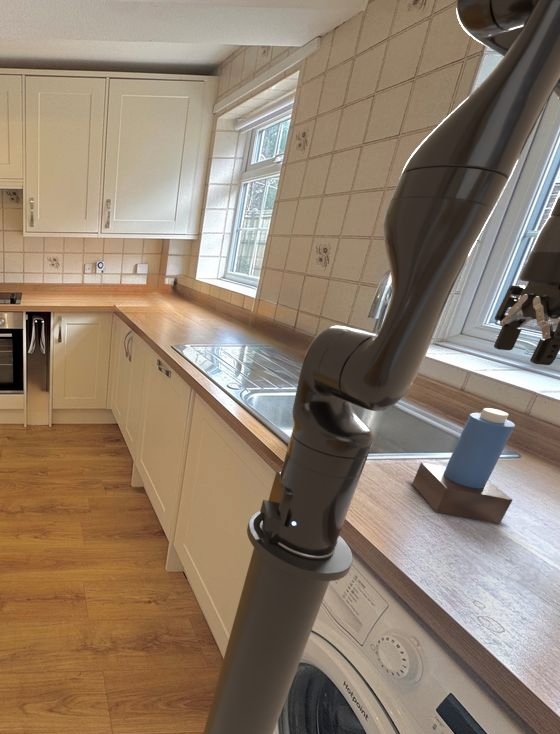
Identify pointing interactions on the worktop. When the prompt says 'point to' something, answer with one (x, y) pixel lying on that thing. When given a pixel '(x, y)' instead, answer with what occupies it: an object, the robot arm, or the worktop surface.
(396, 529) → the worktop surface
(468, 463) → the blue bottle
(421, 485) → the walnut block
